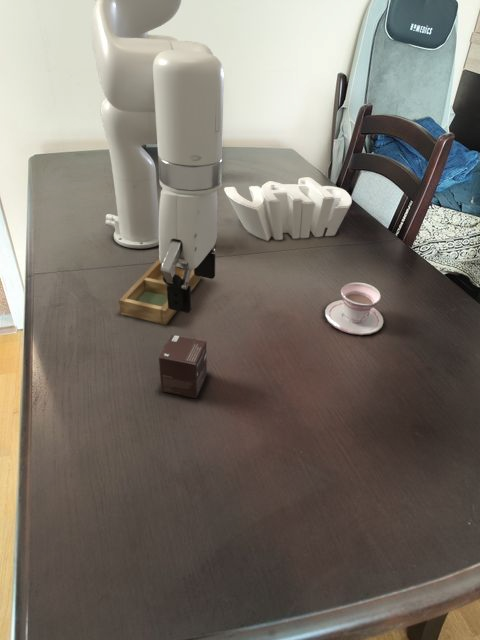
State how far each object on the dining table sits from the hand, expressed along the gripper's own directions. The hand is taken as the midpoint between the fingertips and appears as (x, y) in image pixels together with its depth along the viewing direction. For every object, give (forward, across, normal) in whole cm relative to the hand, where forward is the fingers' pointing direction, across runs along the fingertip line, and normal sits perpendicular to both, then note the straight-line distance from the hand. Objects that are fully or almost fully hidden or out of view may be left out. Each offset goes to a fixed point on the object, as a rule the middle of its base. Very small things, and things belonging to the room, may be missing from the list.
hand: (192, 292), depth 66 cm
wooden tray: (+16, -21, -15) cm, 30 cm away
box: (+17, +2, -1) cm, 17 cm away
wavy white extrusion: (+16, -66, +2) cm, 68 cm away
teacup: (+17, -27, +24) cm, 40 cm away
